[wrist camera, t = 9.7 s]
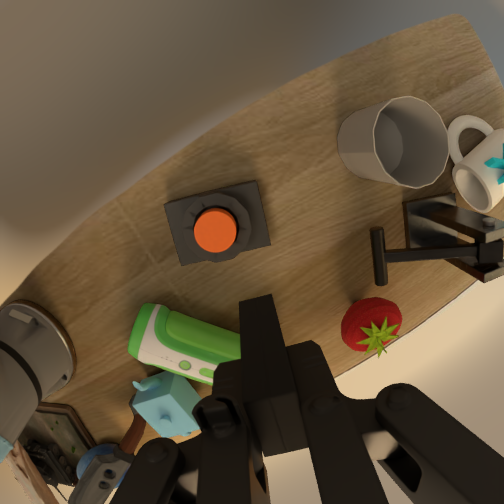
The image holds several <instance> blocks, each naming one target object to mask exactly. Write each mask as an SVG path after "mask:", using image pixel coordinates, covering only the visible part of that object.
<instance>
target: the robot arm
mask: <svg viewBox="0 0 504 504" xmlns="http://www.w3.org/2000/svg"><path fill="white" fill-rule="evenodd" d="M239 320H240V352H241V359H236V360H231V361H227V362H222V363H219V365H218V366H217V368H216V369H215V371H214V373H213V385H212V390H213V391H212V395H210V396H207V397H205V398H203V399H201V400H200V401H199V402H198V403H197V404H196V405H195V406H194V408H193V410H192V415H193V417H194V419H195V420H196V422H197V424H198V426H199V428H200V429H201V431H202V433H200V434H199V435H197V436H196V437H194V438H192V439H189V440H186V441H184V442H181V443H178V444H177V443H175V442H174V441H173V440H172V439H169V438H166V437H161V438H155V439H152V440H150V441H148V442H147V443H145V444H144V445H143V446H142V447H141V448H140V450H139V451H138V453H137V455H136V456H135V458H134V460H133V462H132V464H131V465H130V467H129V469H128V471H127V473H126V474H125V476H124V478H123V480H122V482H121V483H120V485H119V487H118V489H117V491H116V492H115V494H114V496H113V498H112V500H111V501H110V503H109V504H271V503H270V495H269V486H268V477H267V470H266V467H265V465H264V463H263V456H262V452H263V454H264V456H265V457H268V456H273V455H277V454H282V453H287V452H291V451H296V450H300V449H304V448H308V447H309V450H310V454H311V459H312V463H313V467H314V471H315V476H316V479H317V484H318V488H319V493H320V497H321V501H322V504H389V503H388V500H387V498H386V495H385V492H384V490H383V487H382V485H381V482H380V480H379V477H378V475H377V473H376V470H375V468H374V465H373V463H372V460H377V461H378V463H379V464H380V465H381V466H382V467H383V469H384V470H385V471H386V472H387V473H388V474H389V476H390V477H391V478H392V479H393V480H394V481H395V483H396V484H397V485H398V486H399V487H400V488H401V490H402V491H403V492H404V493H405V494H406V495H407V496H408V498H410V500H411V501H412V502H413V503H414V504H504V457H502V456H501V455H500V454H499V453H497V452H496V451H495V450H494V449H492V448H491V447H490V446H489V445H487V444H486V443H485V442H484V441H482V440H481V439H479V437H477V436H476V435H475V434H473V433H472V432H471V431H470V430H469V429H467V428H466V427H465V426H464V425H462V424H461V423H460V422H459V421H457V420H456V419H455V418H454V417H452V416H451V415H450V414H449V413H447V412H446V411H445V410H444V409H442V408H441V407H440V406H438V405H437V404H436V403H435V402H434V401H433V400H431V399H430V398H429V397H427V396H426V395H425V394H424V393H423V392H421V391H420V390H419V389H418V388H416V387H414V386H412V385H410V384H405V383H398V384H392V385H389V386H387V387H385V388H384V389H382V390H381V391H380V392H379V393H378V395H377V397H376V398H374V399H364V400H363V399H361V400H360V399H358V400H357V399H352V398H349V397H346V396H344V395H343V394H342V393H341V392H340V391H339V390H338V388H337V385H336V383H335V380H334V378H333V376H332V373H331V371H330V368H329V366H328V364H327V361H326V359H325V357H324V354H323V352H322V350H321V347H320V346H319V345H318V344H316V343H315V342H313V341H312V340H309V341H306V342H302V343H298V344H295V345H291V346H287V347H285V343H284V339H283V336H282V332H281V328H280V324H279V320H278V316H277V313H276V309H275V305H274V301H273V297H272V294H268V295H264V296H260V297H256V298H252V299H248V300H244V301H240V302H239ZM75 370H76V354H75V350H74V347H73V344H72V342H71V340H70V338H69V336H68V335H67V333H66V331H65V330H64V328H63V327H62V326H61V324H60V323H59V322H58V321H57V320H56V319H55V318H54V317H53V316H52V315H51V314H50V313H49V312H48V311H46V310H45V309H44V308H42V307H41V306H39V305H37V304H35V303H33V302H30V301H26V300H16V301H13V302H11V303H9V304H8V305H7V306H5V307H4V308H3V309H2V310H1V311H0V463H1V462H2V461H3V459H4V458H5V457H6V455H7V454H8V453H9V451H10V450H12V449H13V446H14V444H15V443H16V441H17V439H18V438H19V436H20V434H21V433H22V431H23V429H24V428H25V426H26V424H27V423H28V421H29V419H30V418H31V416H32V415H33V413H34V411H35V410H36V408H37V407H38V405H39V404H40V402H41V401H42V400H43V399H44V398H46V397H48V396H49V395H51V394H53V393H54V392H56V391H58V390H59V389H61V388H63V387H64V386H65V385H66V384H67V383H68V382H69V381H70V379H71V378H72V376H73V375H74V373H75Z"/></svg>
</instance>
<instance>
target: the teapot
mask: <svg viewBox="0 0 504 504" xmlns="http://www.w3.org/2000/svg"><path fill="white" fill-rule="evenodd" d="M133 385H134V386H135V388H137V389H138V390H137V393H136V396H135V398H134V401H133V404H132V406H133V407H134V408H135V409H136V410H137V412H138V413H139V414H140V415H141V416H142V417H143V418H144V419H145V420H146V421H147V422H148V423H149V424H150V425H151V426H152V427H153V428H154V429H155V430H156V431H157V432H158V433H159V434H160V435H161V436H162V437H166V438H168V437H172V436H176V435H182V436H188V435H190V434H191V432H192V431H195V430H198V429H200V428H199V426H198V424H197V422H196V420H195V419H194V417H193V415H192V410H193V408H194V406H195V405H196V404H197V403H198V402H199V401H200V400H201V397H200V396H199V395H198V394H197V392H196V390H194V389H193V387H192V386H191V385H190V384H189V382H188V381H187V380H186V379H185V377H184V376H181V375H178V374H175V373H172V372H170V371H164V372H162V373H159V374H156V375H154V376H151V377H148V378H145V379H142V380H141V382H140V384H139V383H137V382H135V381H133Z"/></svg>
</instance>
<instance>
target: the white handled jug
mask: <svg viewBox="0 0 504 504" xmlns="http://www.w3.org/2000/svg"><path fill="white" fill-rule="evenodd" d="M466 128H475V129H478V130H480V131H481V132H482V133H484V134H485V135H486V136H487V137H486V138H485V139H484V140H483V141H482V142H481V143H479V144H478V145H477V146H476V147H475V148H474V149H473V150H472V151H471V152H469V153H468V154H467V155H466V156H465V157H464V158H463V156H462V154H461V152H460V149H459V144H458V139H459V135H460V133H461V132H462V131H463V130H464V129H466ZM447 132H448V137H449V150H450V156H451V159H452V160H453V162H454V164H455V166H454V168H453V170H452V176H453V181H454V183H455V185H456V188H457V189H458V191H459V193H460V195H461V196H462V197H463V198H464V200H465V201H466V202H467V203H468V204H469V205H470V206H471V207H472V208H474V209H475V210H477V211H479V212H482V213H487V212H489V211H490V210H491V209H492V208H493V207H494V206H495V205H496V204H497V203H498V202H499V201H500V200H501V199H502V198H503V197H504V129H502V128H501V129H497V130H494V129H493V128H492V127H491V126H490V125H489V124H488V123H486V122H485V121H484V120H482V119H480V118H478V117H476V116H471V115H462V116H459V117H457V118H455V119H454V120H453V121H452V122H451V123H450V125H449V128H448V130H447Z"/></svg>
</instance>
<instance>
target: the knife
mask: <svg viewBox="0 0 504 504" xmlns="http://www.w3.org/2000/svg"><path fill="white" fill-rule="evenodd" d="M135 396H136V394H135V395H133V396H132V398H131V400H130V402H129V406H130V408H131V410H132V412H133V414H134V420H133V422H132V425H131V427H130V428H129V430H128V432H127V433H126V435H125V436H124V438H123V440H122V441H121V443H120V444H118V443H117V444H116V446H115V447H114V449H113V453H111V454H106V455H97V454H95V456H94V457H93V459H92V460H91V462H90V463H89V465H88V466H87V468H86V469H85V471H84V473H83V474H82V476H81V478H80V479H79V481H78V483H77V485H76V486H75V488H74V490H73V492H72V493H71V495H70V497H69V500H68V504H104V503H105V501H106V500H107V498H108V497H109V495H110V494H111V492H112V491H113V489H114V488H115V486H116V485H117V483H118V482H119V480H120V479H121V477H122V476H123V474H124V473H125V471H126V469H127V468H128V466H129V465H130V464H131V463H132V462H133V460H134V458H135V455H134V451H135V449H136V447H137V445H138V443H139V441H140V439H141V437H142V435H143V433H144V429H145V426H146V420H145V419H144V418H143V417H142V416H141V415H140V414H139V413H138V412H137V410H136V409H135V408H134V407H133V406H132V404H133V401H134V398H135ZM107 469H110V470H112V473H108V472H105V471H106V470H107ZM101 481H104V482H106V483H101Z"/></svg>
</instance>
